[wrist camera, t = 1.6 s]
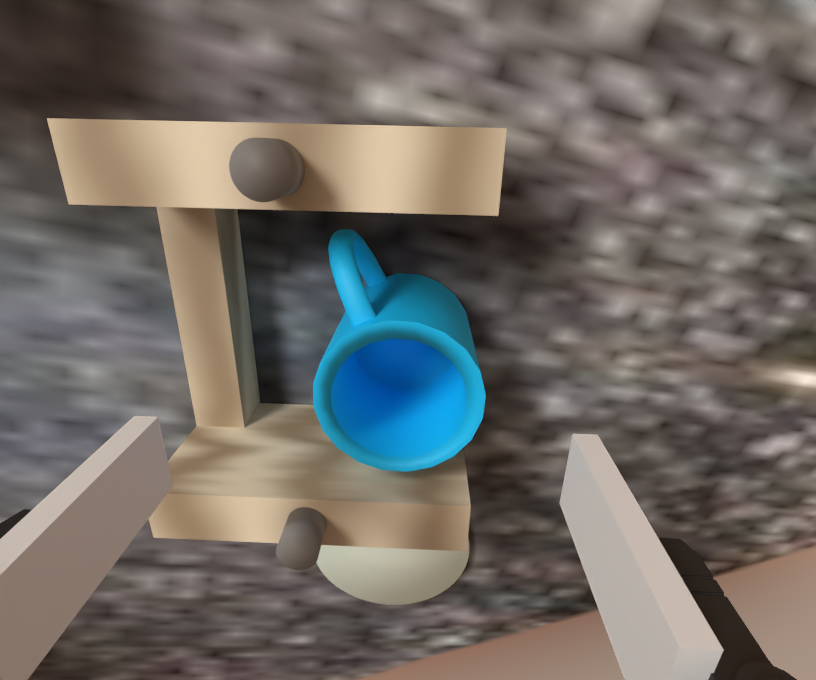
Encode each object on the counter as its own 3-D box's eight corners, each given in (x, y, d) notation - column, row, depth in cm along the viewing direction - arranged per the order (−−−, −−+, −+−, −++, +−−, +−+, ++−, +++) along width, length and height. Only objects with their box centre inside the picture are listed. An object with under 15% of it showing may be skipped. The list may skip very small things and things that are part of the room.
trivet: (318, 592, 38) (316, 601, 38) (309, 475, 34) (306, 483, 33) (463, 599, 38) (463, 608, 37) (474, 482, 33) (475, 490, 33)
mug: (488, 366, 30) (509, 441, 22) (375, 408, 31) (359, 491, 24) (414, 188, 26) (410, 206, 18) (288, 246, 27) (236, 284, 20)
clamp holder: (222, 438, 33) (131, 569, 23) (172, 127, 25) (-1, 114, 15) (456, 447, 32) (470, 585, 22) (479, 134, 24) (517, 126, 14)
